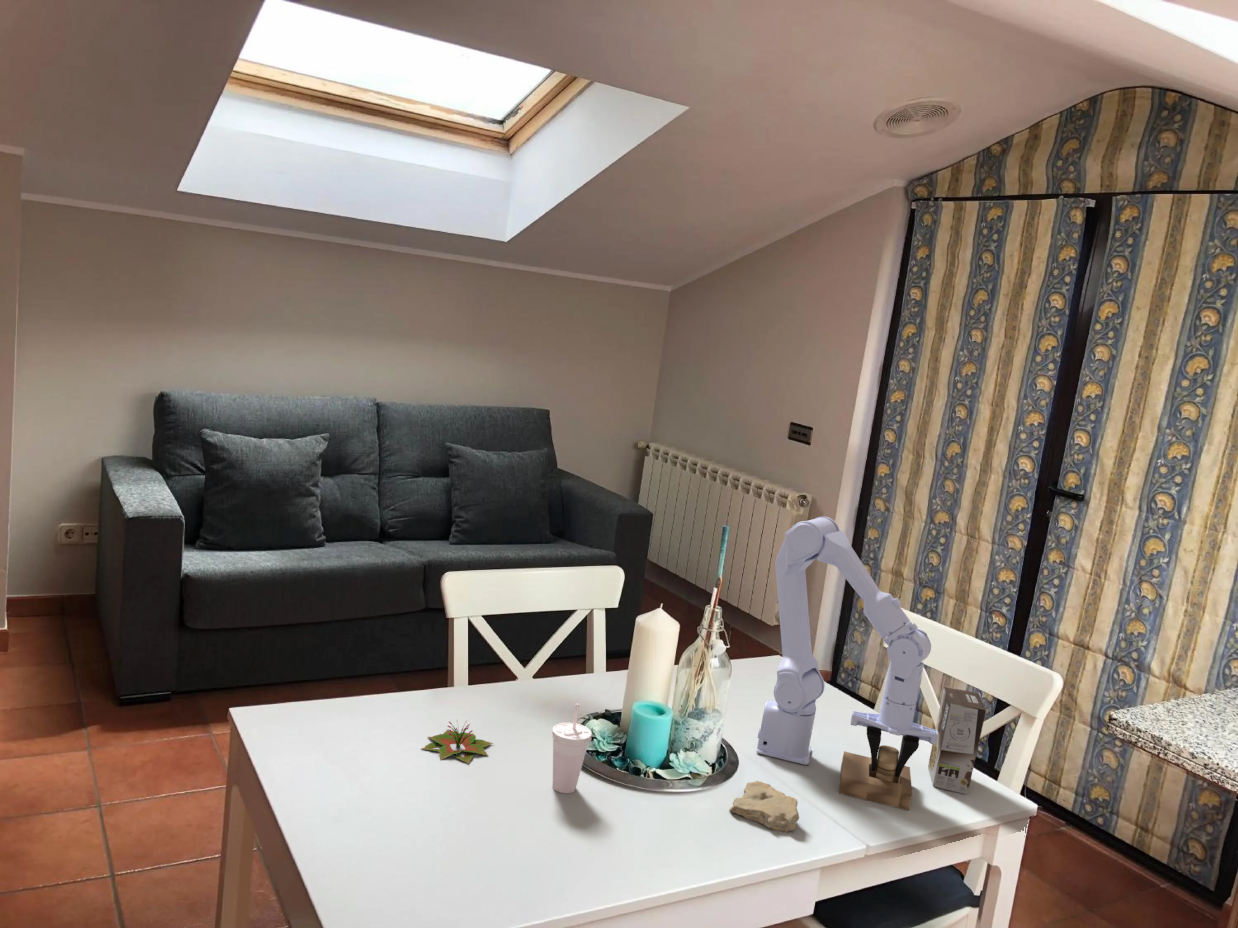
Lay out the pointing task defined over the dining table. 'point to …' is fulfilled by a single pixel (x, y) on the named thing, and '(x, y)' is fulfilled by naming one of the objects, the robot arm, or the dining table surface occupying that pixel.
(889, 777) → the peg
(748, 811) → the stone
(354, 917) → the dining table surface
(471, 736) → the lily flower
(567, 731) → the smoothie
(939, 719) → the coffee box
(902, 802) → the board
